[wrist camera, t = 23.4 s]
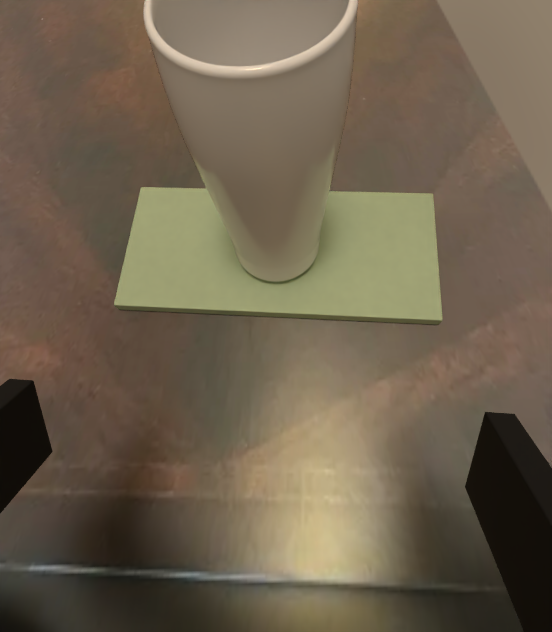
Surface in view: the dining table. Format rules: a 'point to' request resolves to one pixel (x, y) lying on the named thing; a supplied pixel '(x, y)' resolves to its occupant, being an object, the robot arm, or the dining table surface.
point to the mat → (302, 291)
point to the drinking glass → (260, 114)
